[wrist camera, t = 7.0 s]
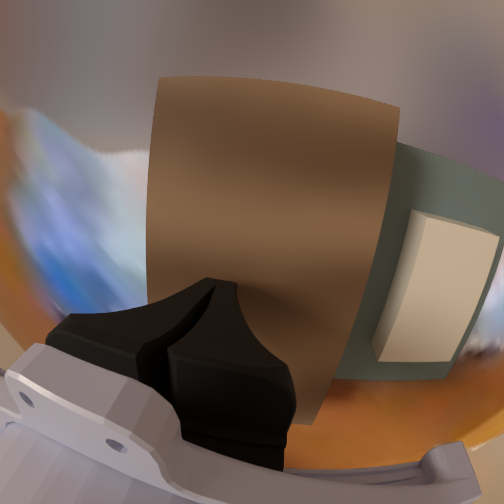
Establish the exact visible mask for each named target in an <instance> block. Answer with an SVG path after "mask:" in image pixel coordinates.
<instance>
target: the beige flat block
mask: <svg viewBox="0 0 504 504" xmlns="http://www.w3.org/2000/svg"><path fill="white" fill-rule="evenodd" d="M499 238H500V237H499V236H497V235H495V234H493V233H491V232H489V231H487V230H485V229H483V228H480V227H477V226H474V225H470V224H467V223H463V222H459V221H456V220H452V219H448V218H445V217H441V216H437V215H433V214H429V213H425V212H421V211H417V210H413V209H411V212H410V217H409V221H408V226H407V230H406V234H405V238H404V242H403V246H402V250H401V254H400V257H399V261H398V264H397V268H396V271H395V275H394V278H393V281H392V284H391V288H390V291H389V294H388V297H387V300H386V303H385V306H384V309H383V311H382V314H381V317H380V320H379V322H378V325H377V328H376V330H375V333H374V336H373V338H372V341H371V344H372V347H373V349H374V352H375V355H376V357H377V360H378V361H382V362H442V361H450V360H451V358H452V356H453V355H454V353H455V351H456V349H457V347H458V345H459V343H460V341H461V339H462V337H463V335H464V333H465V331H466V329H467V326H468V324H469V322H470V320H471V318H472V315H473V313H474V311H475V308H476V306H477V304H478V301H479V299H480V296H481V293H482V291H483V288H484V286H485V283H486V280H487V277H488V274H489V271H490V268H491V265H492V262H493V259H494V256H495V252H496V249H497V245H498V242H499Z"/></svg>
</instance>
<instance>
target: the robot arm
mask: <svg viewBox="0 0 504 504" xmlns="http://www.w3.org/2000/svg"><path fill="white" fill-rule="evenodd" d="M237 287H238V285H237V283H236V282H232V281H226V280H220V279H214V278H209V277H206V278H204V279H202V280H200V281H198V282H196V283H195V284H193V285H191V286H189V287H187V288H185V289H184V290H182V291H180V292H178V293H176V294H173V295H171V296H169V297H167V298H165V299H162V300H160V301H157V302H154V303H151V304H148V305H145V306H141V307H137V308H132V309H128V310H123V311H117V312H109V313H96V314H73V313H71V314H69V315H68V316H67V317H66V318H65V319H64V320H63V321H62V322H61V323H59V324H58V325H57V326H56V327H55V328H54V329H53V330H52V331H51V332H50V333H49V334H48V335H47V338H46V343H45V345H43V344H38V343H34V344H33V345H32V346H31V347H30V348H29V349H28V350H27V351H26V352H25V353H24V354H23V355H22V356H21V357H20V358H19V359H18V360H17V361H16V362H15V363H14V364H13V365H12V366H11V367H10V368H9V369H8V370H7V371H5V370H3V369H2V368H0V504H472V503H473V502H474V501H476V500H477V499H479V498H480V497H481V496H482V492H481V489H480V486H479V483H478V481H477V478H476V475H475V472H474V470H473V467H472V464H471V462H470V459H469V457H468V454H467V452H466V449H465V447H464V445H463V442H462V441H457V442H453V443H449V444H444V445H440V446H437V447H434V448H433V449H431V450H429V451H428V452H427V453H426V454H425V455H424V456H423V457H422V459H421V460H420V461H416V462H410V463H404V464H397V465H389V466H381V467H370V468H357V469H291V468H284V448H285V447H286V444H287V432H288V430H289V427H290V425H291V422H292V420H293V418H294V415H295V412H296V406H297V401H296V393H295V388H294V384H293V380H292V377H291V373H290V370H289V368H288V365H287V364H286V363H285V362H283V361H282V360H280V359H279V358H277V357H276V356H275V355H273V354H272V353H271V352H270V351H268V350H267V349H266V348H265V347H264V346H263V345H262V344H261V343H260V341H259V340H258V339H257V338H256V337H255V335H254V334H253V332H252V331H251V329H250V328H249V326H248V324H247V322H246V320H245V318H244V316H243V314H242V311H241V308H240V305H239V301H238V297H237Z"/></svg>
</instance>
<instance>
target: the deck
mask: <svg viewBox="0 0 504 504" xmlns="http://www.w3.org/2000/svg"><path fill="white" fill-rule="evenodd" d="M399 115H400V108H398V107H395V106H392V105H389V104H386V103H382V102H379V101H375V100H371V99H368V98H363V97H360V96H356V95H351V94H347V93H342V92H338V91H333V90H328V89H323V88H318V87H312V86H307V85H300V84H294V83H287V82H279V81H270V80H260V79H248V78H233V77H205V76H204V77H203V76H191V77H190V76H186V77H159V81H158V88H157V94H156V101H155V109H154V116H153V125H152V134H151V144H150V155H149V169H148V185H147V208H146V274H147V298H148V304H151V303H154V302H157V301H160V300H162V299H165V298H167V297H169V296H171V295H173V294H176V293H178V292H180V291H182V290H184V289H185V288H187V287H189V286H191V285H193V284H195V283H196V282H198V281H200V280H202V279H204V278H206V277H209V278H214V279H220V280H226V281H232V282H236V283H237V285H238V287H237V297H238V301H239V305H240V308H241V311H242V314H243V316H244V318H245V320H246V322H247V324H248V326H249V328H250V329H251V331H252V332H253V334H254V335H255V337H256V338H257V339H258V340H259V341H260V343H261V344H262V345H263V346H264V347H265V348H266V349H267V350H268V351H270V352H271V353H272V354H273V355H275V356H276V357H277V358H279V359H280V360H282V361H283V362H285V363H286V364H287V365H288V368H289V370H290V373H291V377H292V380H293V384H294V388H295V393H296V401H297V406H296V412H295V415H294V418H293V420H292V422H291V424H303V425H312V424H313V422H314V420H315V418H316V416H317V414H318V411H319V409H320V407H321V405H322V403H323V400H324V398H325V396H326V394H327V391H328V389H329V387H330V384H331V382H332V380H333V377H334V375H335V372H336V370H337V367H338V365H339V362H340V360H341V357H342V355H343V352H344V349H345V347H346V344H347V341H348V338H349V336H350V333H351V330H352V327H353V324H354V321H355V318H356V315H357V312H358V309H359V306H360V303H361V300H362V297H363V293H364V290H365V287H366V283H367V280H368V277H369V273H370V270H371V266H372V262H373V258H374V255H375V251H376V247H377V243H378V239H379V235H380V230H381V226H382V222H383V217H384V212H385V208H386V203H387V198H388V192H389V187H390V181H391V176H392V170H393V163H394V157H395V150H396V142H397V133H398V125H399Z"/></svg>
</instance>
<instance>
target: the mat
mask: <svg viewBox="0 0 504 504" xmlns="http://www.w3.org/2000/svg"><path fill="white" fill-rule="evenodd" d="M411 209H413V210H417V211H421V212H425V213H429V214H433V215H437V216H441V217H445V218H448V219H452V220H456V221H459V222H463V223H467V224H470V225H474V226H477V227H480V228H483V229H485V230H487V231H489V232H491V233H493V234H495V235H497V236H499V237H500V238H499V242H498V245H497V249H496V252H495V256H494V259H493V262H492V265H491V268H490V271H489V274H488V277H487V280H486V283H485V286H484V288H483V291H482V293H481V296H480V299H479V301H478V304H477V306H476V308H475V311H474V313H473V315H472V318H471V320H470V322H469V324H468V326H467V329H466V331H465V333H464V335H463V337H462V339H461V341H460V343H459V345H458V347H457V349H456V351H455V353H454V355H453V356H452V358H451V360H450V361H442V362H382V361H378V360H377V357H376V355H375V352H374V349H373V347H372V344H371V341H372V338H373V336H374V333H375V330H376V328H377V325H378V322H379V320H380V317H381V314H382V311H383V309H384V306H385V303H386V300H387V297H388V294H389V291H390V288H391V284H392V281H393V278H394V275H395V271H396V268H397V264H398V261H399V257H400V254H401V250H402V246H403V242H404V238H405V234H406V230H407V226H408V221H409V217H410V212H411ZM503 246H504V182H501V181H499V180H497V179H495V178H493V177H491V176H489V175H486V174H484V173H482V172H479V171H477V170H475V169H472V168H470V167H468V166H465V165H462V164H460V163H457V162H455V161H452V160H450V159H447V158H444V157H441V156H439V155H436V154H433V153H430V152H427V151H424V150H421V149H418V148H415V147H412V146H408V145H405V144H402V143H398V142H396V150H395V157H394V163H393V170H392V176H391V181H390V187H389V192H388V198H387V203H386V208H385V212H384V217H383V222H382V226H381V230H380V235H379V239H378V243H377V247H376V251H375V255H374V258H373V262H372V266H371V270H370V273H369V277H368V280H367V283H366V287H365V290H364V293H363V297H362V300H361V303H360V306H359V309H358V312H357V315H356V318H355V321H354V324H353V327H352V330H351V333H350V336H349V338H348V341H347V344H346V347H345V349H344V352H343V355H342V357H341V360H340V362H339V365H338V367H337V370H336V372H335V375H334V377H333V379H349V380H384V381H399V380H432V379H445V378H446V376H447V375H448V373H449V371H450V370H451V368H452V366H453V365H454V363H455V361H456V359H457V357H458V356H459V354H460V352H461V350H462V348H463V346H464V344H465V342H466V341H467V339H468V337H469V335H470V332H471V330H472V328H473V326H474V324H475V322H476V320H477V318H478V315H479V313H480V311H481V308H482V306H483V304H484V301H485V299H486V296H487V294H488V291H489V289H490V286H491V283H492V280H493V278H494V275H495V272H496V269H497V266H498V263H499V260H500V256H501V253H502V250H503Z"/></svg>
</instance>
